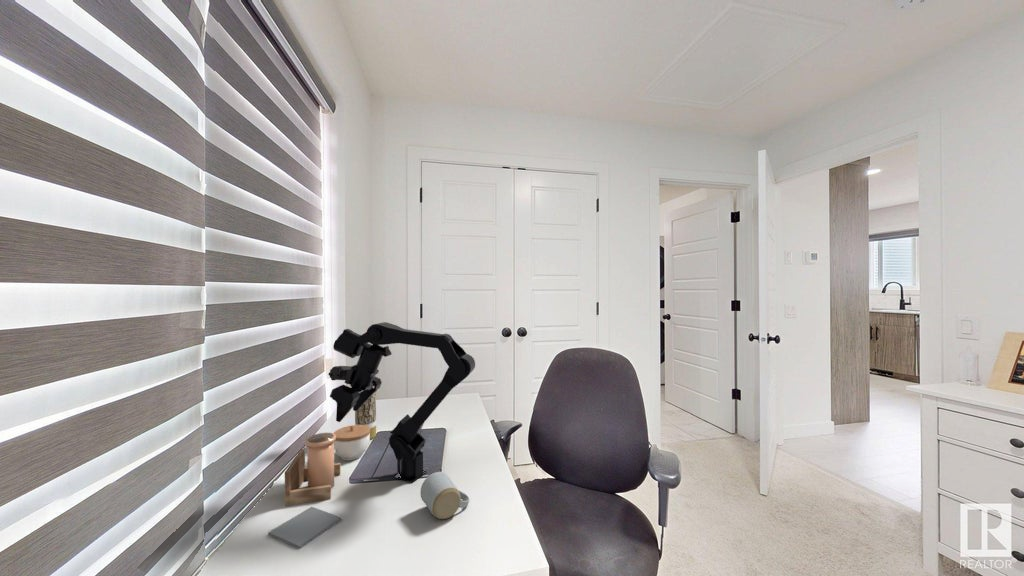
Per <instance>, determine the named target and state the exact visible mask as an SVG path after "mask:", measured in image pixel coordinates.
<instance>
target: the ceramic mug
mask: <svg viewBox="0 0 1024 576" xmlns="http://www.w3.org/2000/svg"><path fill="white" fill-rule="evenodd" d="M420 487H421V488H420V494H419V495H420V498H421V501H422V502H423V503H424V504H425V506H426V507H427V509H428V510H429V511H430V513H431V514H432V515H433V516H434V517H435V518H437V519H439V520H447V519H449V518H451V517H453V515H454V514H455V513H456V512H458V510H459V508H460V509H465V508H467V507H468V505H469V503H470V497H469V496H468V495H467V494H466V493H465V492H463V491H461V490H459V489H458V487H457V486H456V485H455V483H454V482H453V480H452V479H451V478H450V476H449V475H448V474H447V473H445V472H443V471H436V472H433V473H431V474H430V475H428V476H427V477H426V478H425V479H424V480H423V483H422V484H421V486H420Z"/></svg>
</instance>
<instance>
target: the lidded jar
mask: <svg viewBox="0 0 1024 576" xmlns="http://www.w3.org/2000/svg"><path fill="white" fill-rule="evenodd" d="M333 433H334V434H336V441H335V442H334V453H336V454H337V456H339V457H340V458H341V459H342V460H343V461H353V460H357V459H359V458H361V457H363V455H364V453H365V452H366V451H367V449H368V447H369V444H370V442H371V441H370V440H371V439H370V427H368V426H365V425H355V424H354V425H353V424H352V425H347V426H343V427H341V428H338V429H337V430H335V431H334V432H333Z"/></svg>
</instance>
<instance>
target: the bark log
mask: <svg viewBox="0 0 1024 576" xmlns="http://www.w3.org/2000/svg"><path fill="white" fill-rule="evenodd" d="M376 375H377V374H376ZM376 375H375V377H377V376H376ZM374 387H375V386H374ZM374 387H373V388H374ZM376 392H377V391H376ZM376 392H375V393H374V394H373V395H372V396H371V397H370V398H369V399H368V400H367V401H366V402H365V403H364V404H363V405H362V406H361V407H360V408H359V409H358V410H357V411H354V425H365V426H368V427H370V440H373V439H374V438H375V437H376V436H377V401H376V400H377V397H376V396H377V393H376Z"/></svg>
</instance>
